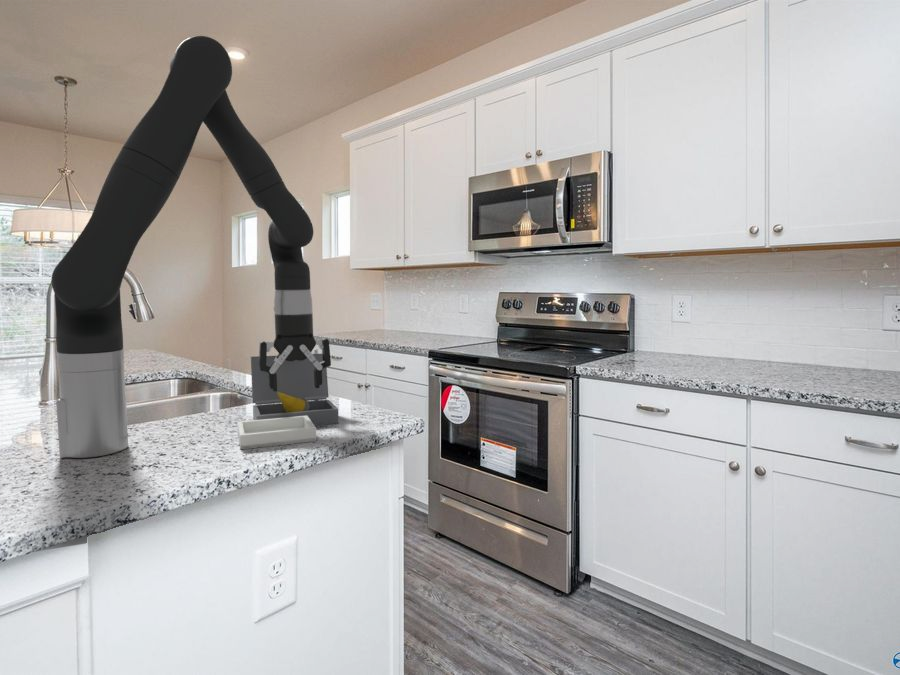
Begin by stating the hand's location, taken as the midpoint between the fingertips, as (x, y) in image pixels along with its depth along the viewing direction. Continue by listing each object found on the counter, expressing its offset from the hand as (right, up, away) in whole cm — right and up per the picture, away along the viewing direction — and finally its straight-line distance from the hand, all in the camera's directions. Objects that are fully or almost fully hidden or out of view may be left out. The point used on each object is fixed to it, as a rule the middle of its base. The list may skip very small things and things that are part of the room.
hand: (296, 389), depth 109 cm
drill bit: (0, -7, +1) cm, 7 cm away
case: (0, -7, +1) cm, 7 cm away
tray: (0, -8, -11) cm, 14 cm away
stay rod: (+1, -6, +11) cm, 13 cm away
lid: (-3, +2, +5) cm, 6 cm away
